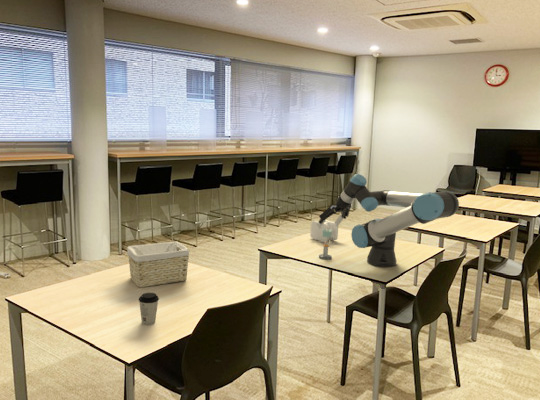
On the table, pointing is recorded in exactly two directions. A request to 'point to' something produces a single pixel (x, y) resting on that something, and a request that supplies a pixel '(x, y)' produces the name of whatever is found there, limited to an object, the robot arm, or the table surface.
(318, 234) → the cable organizer
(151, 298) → the coffee cup
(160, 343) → the table surface
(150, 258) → the storage basket
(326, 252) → the post
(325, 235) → the sleeve
